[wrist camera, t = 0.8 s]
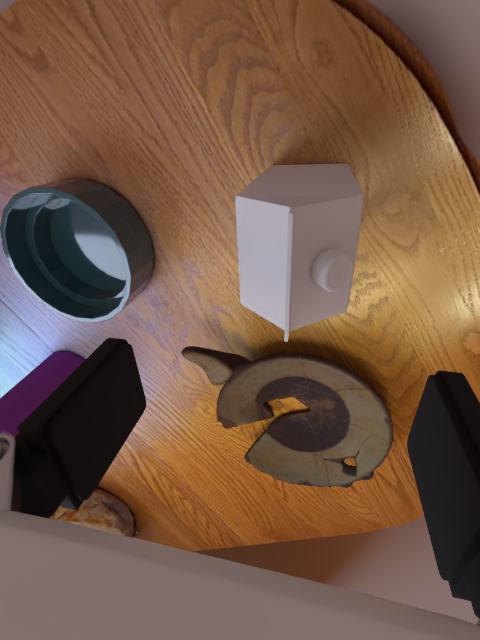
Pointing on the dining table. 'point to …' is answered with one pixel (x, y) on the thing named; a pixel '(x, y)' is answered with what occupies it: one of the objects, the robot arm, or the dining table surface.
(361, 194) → the milk carton
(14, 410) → the mug
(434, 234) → the dining table surface
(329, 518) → the dining table surface
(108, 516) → the bread
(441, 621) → the robot arm
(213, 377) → the broken pan
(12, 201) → the shallow pet bowl
